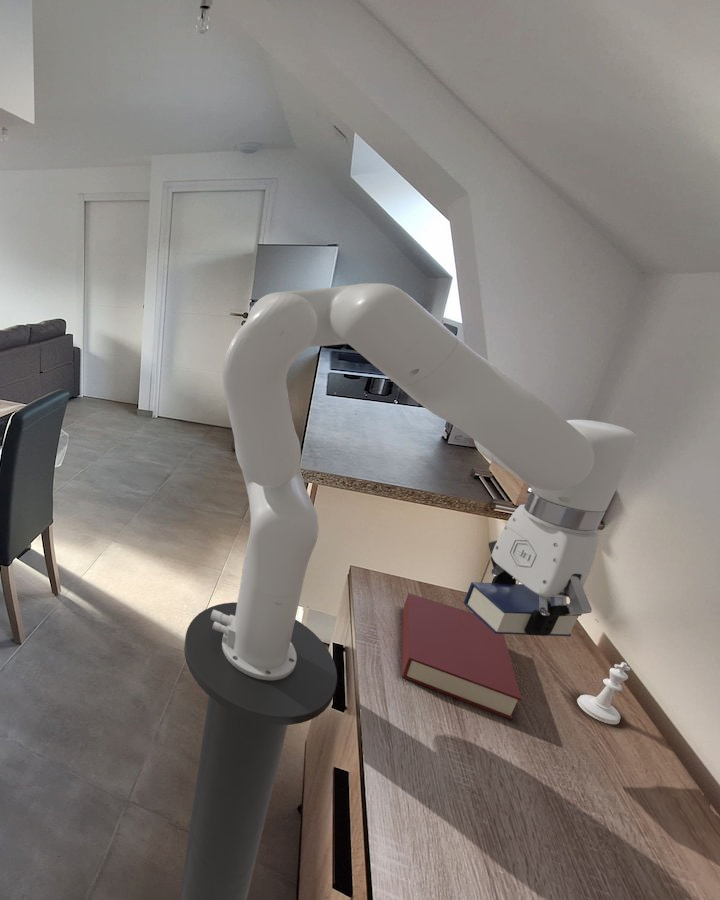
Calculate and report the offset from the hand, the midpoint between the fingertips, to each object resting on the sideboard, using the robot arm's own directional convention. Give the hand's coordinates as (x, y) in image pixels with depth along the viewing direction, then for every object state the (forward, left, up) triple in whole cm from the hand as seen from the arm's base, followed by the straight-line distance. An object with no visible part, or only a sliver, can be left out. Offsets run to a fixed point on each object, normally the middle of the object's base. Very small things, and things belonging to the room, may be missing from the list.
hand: (515, 615), depth 68 cm
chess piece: (+17, +9, -18) cm, 26 cm away
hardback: (-3, +9, -17) cm, 20 cm away
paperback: (0, 0, -1) cm, 1 cm away
